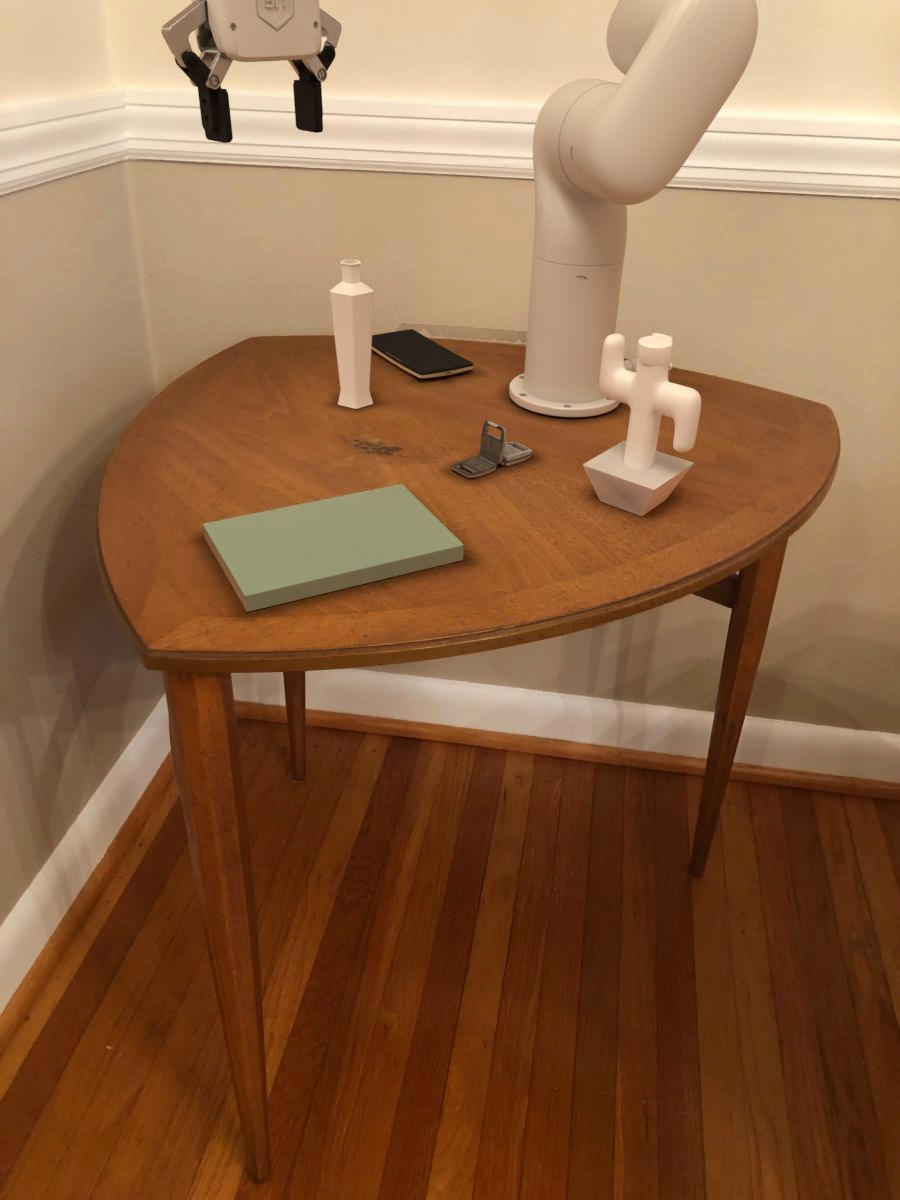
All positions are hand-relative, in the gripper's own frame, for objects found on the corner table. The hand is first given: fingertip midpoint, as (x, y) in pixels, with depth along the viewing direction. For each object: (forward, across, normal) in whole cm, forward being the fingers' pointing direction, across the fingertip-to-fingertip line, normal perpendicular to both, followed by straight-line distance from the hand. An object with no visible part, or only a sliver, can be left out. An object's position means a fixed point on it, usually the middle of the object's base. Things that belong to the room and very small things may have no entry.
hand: (266, 135), depth 83 cm
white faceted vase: (+28, +9, 0) cm, 29 cm away
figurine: (+28, +13, -34) cm, 46 cm away
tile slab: (+27, -13, -23) cm, 38 cm away
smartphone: (+28, +24, +6) cm, 37 cm away
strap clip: (+28, +9, -20) cm, 36 cm away
